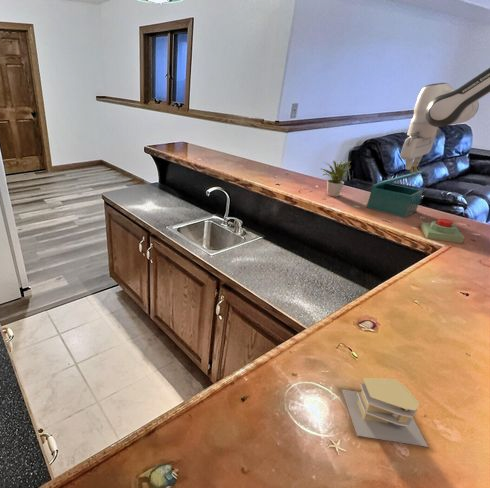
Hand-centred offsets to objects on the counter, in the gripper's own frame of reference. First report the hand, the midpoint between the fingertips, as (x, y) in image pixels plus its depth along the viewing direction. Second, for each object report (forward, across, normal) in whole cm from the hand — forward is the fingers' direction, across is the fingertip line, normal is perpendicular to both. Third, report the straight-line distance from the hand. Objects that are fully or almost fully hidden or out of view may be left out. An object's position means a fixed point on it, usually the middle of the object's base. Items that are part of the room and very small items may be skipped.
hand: (411, 168), depth 136 cm
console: (+18, -14, -19) cm, 30 cm away
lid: (+5, 0, +3) cm, 6 cm away
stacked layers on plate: (+19, -107, -38) cm, 115 cm away
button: (+15, -14, -19) cm, 28 cm away
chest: (+18, 0, +3) cm, 18 cm away
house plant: (+18, +1, +28) cm, 33 cm away
